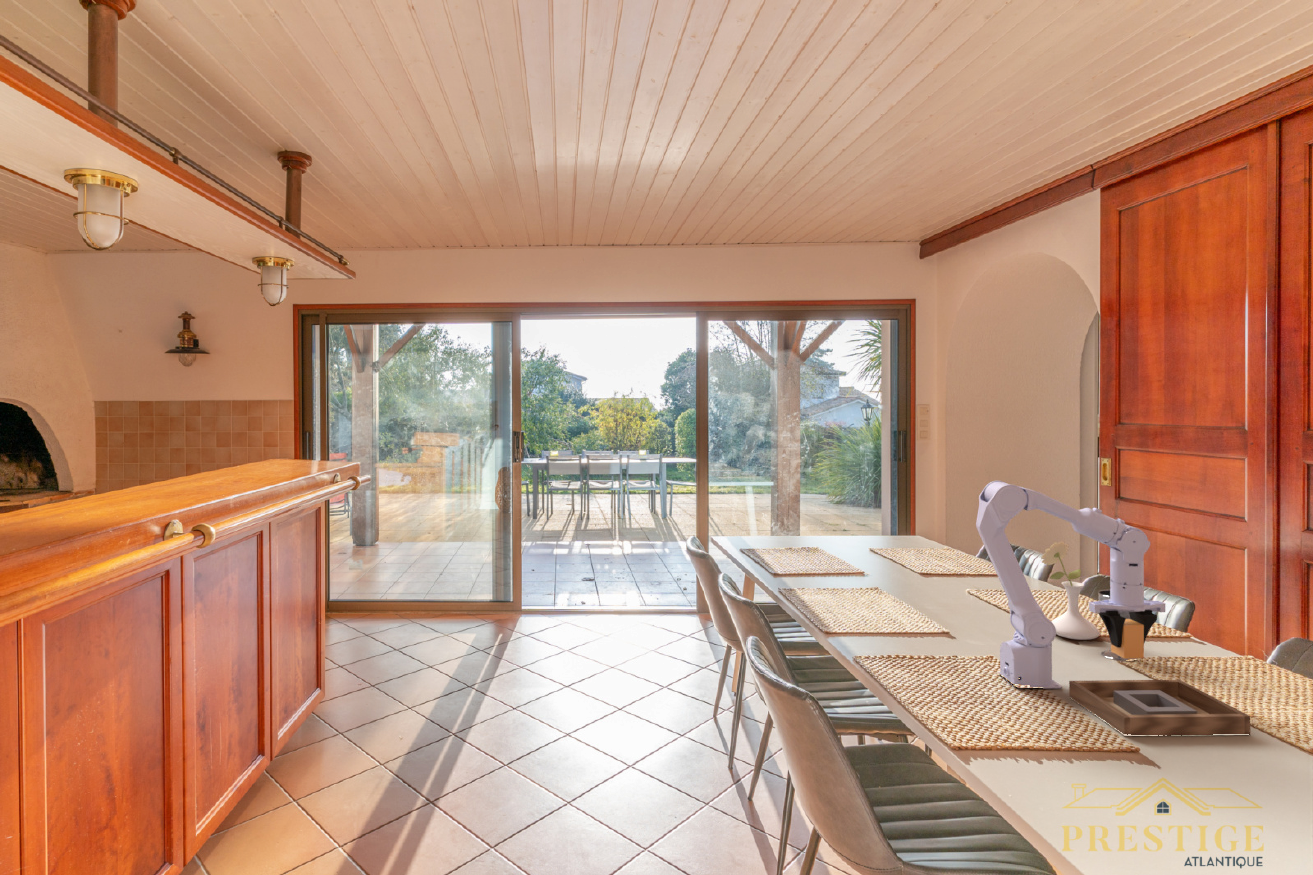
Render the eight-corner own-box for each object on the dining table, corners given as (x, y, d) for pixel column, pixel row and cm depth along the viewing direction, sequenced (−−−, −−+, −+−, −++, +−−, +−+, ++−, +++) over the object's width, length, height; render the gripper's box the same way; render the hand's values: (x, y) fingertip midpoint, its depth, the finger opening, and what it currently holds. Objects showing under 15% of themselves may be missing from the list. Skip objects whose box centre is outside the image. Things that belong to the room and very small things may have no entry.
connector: (1124, 658, 132) (1124, 625, 132) (1111, 651, 136) (1110, 619, 136) (1143, 658, 132) (1143, 624, 131) (1130, 651, 136) (1129, 618, 135)
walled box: (1124, 736, 114) (1124, 717, 114) (1069, 697, 130) (1069, 680, 130) (1250, 735, 113) (1250, 716, 113) (1179, 696, 129) (1179, 679, 129)
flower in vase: (1083, 629, 170) (1083, 536, 169) (1110, 644, 159) (1109, 545, 158) (1032, 628, 171) (1031, 537, 171) (1055, 643, 160) (1054, 545, 159)
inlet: (1147, 724, 117) (1146, 711, 117) (1113, 703, 126) (1113, 690, 126) (1196, 724, 117) (1196, 710, 117) (1159, 702, 126) (1159, 690, 126)
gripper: (1104, 587, 130) (1105, 653, 130) (1177, 586, 129) (1177, 652, 129) (1082, 578, 137) (1082, 641, 137) (1151, 577, 136) (1151, 640, 137)
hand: (1127, 645), depth 134 cm, fingers closed on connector, 4 cm apart
